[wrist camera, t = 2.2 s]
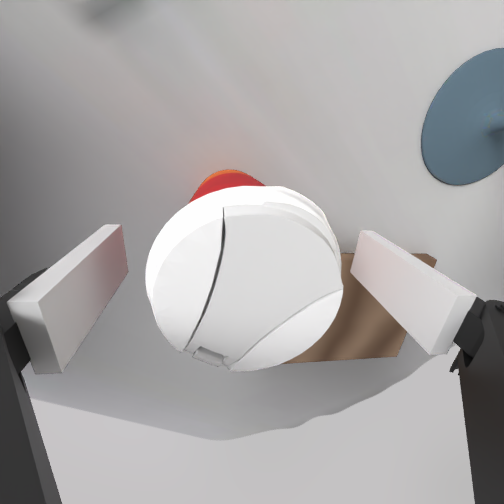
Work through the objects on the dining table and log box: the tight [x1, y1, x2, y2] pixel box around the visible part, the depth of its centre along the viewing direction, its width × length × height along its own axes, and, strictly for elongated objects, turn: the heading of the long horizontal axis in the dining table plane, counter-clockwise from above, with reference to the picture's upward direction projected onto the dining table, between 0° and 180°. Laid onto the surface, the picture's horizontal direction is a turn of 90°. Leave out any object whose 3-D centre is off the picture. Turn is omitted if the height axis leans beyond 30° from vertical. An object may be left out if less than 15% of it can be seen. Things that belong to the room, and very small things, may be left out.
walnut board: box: [281, 253, 437, 364], centre depth 29 cm, size 18×14×2 cm
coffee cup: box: [145, 170, 343, 372], centre depth 16 cm, size 8×8×15 cm
